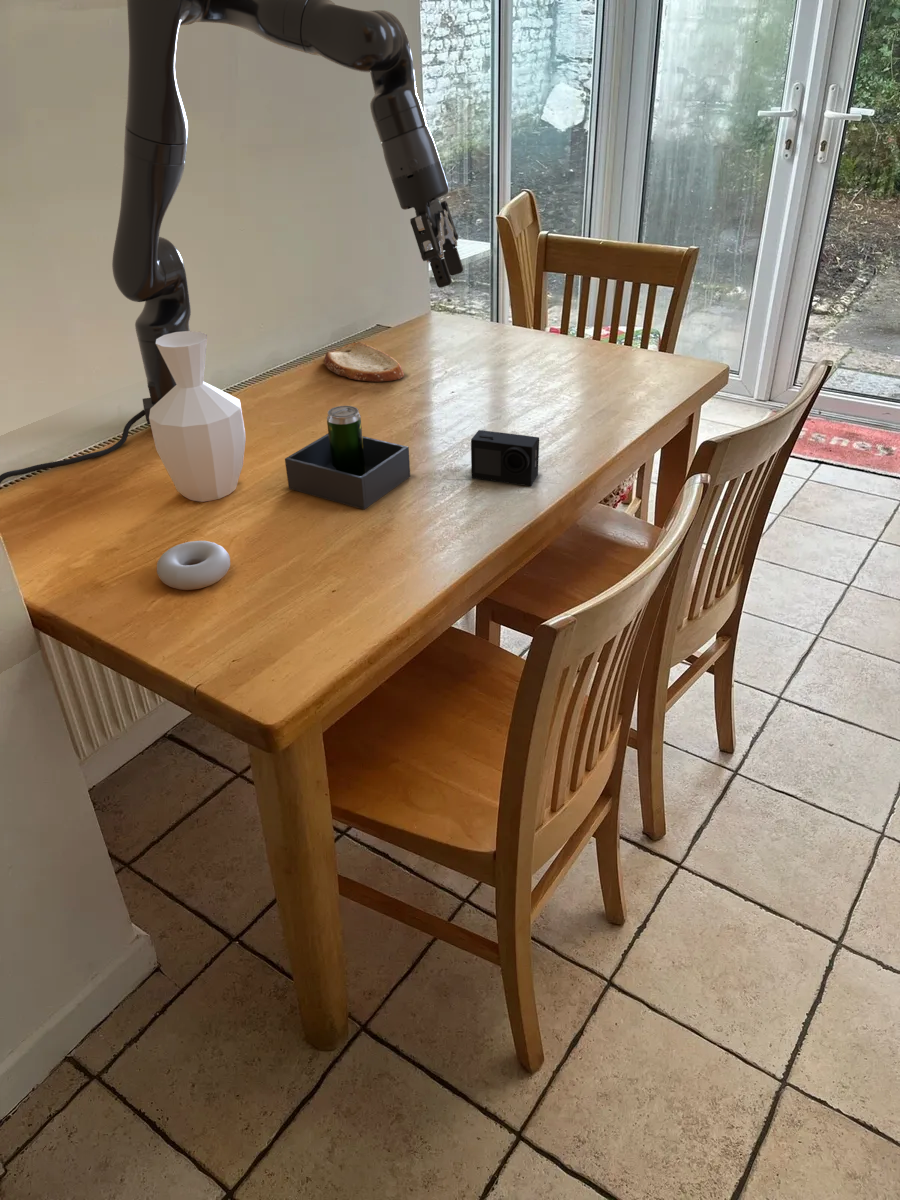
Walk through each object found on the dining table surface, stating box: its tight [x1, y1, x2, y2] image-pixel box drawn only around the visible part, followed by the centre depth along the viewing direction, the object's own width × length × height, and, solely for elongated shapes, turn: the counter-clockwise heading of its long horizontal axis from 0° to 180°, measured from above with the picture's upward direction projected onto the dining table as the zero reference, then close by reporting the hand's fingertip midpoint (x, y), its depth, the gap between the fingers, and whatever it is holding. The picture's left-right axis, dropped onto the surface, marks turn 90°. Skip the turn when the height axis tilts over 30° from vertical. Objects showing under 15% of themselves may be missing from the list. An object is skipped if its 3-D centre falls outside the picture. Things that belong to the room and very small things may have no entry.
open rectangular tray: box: [284, 433, 411, 510], centre depth 146 cm, size 13×15×5 cm
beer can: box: [326, 405, 366, 476], centre depth 144 cm, size 5×5×12 cm
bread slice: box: [323, 341, 405, 383], centre depth 192 cm, size 18×18×4 cm
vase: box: [149, 330, 247, 503], centre depth 140 cm, size 14×14×25 cm
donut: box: [156, 540, 231, 591], centre depth 124 cm, size 10×4×10 cm
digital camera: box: [470, 429, 540, 487], centre depth 145 cm, size 10×5×7 cm, turn 70°
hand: (451, 279), depth 136 cm, fingers open, 8 cm apart
